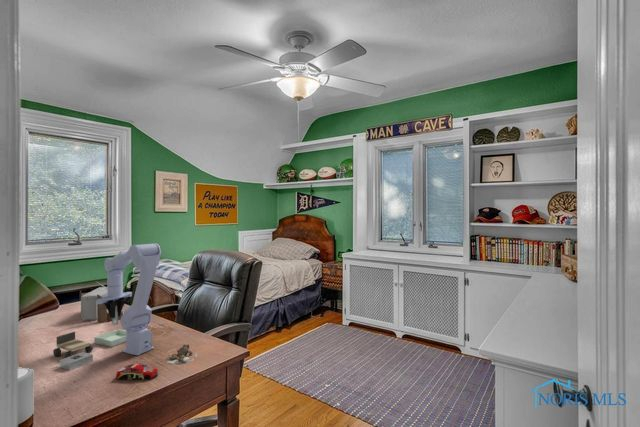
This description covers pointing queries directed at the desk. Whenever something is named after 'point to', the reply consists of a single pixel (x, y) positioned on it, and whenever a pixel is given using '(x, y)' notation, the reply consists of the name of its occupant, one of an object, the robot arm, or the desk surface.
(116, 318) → the pin
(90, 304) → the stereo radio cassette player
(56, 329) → the desk surface
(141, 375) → the race car
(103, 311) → the wooden block
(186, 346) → the frog figurine
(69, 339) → the ramp trolley
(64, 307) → the desk surface
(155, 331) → the desk surface
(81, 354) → the plate
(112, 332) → the tray
